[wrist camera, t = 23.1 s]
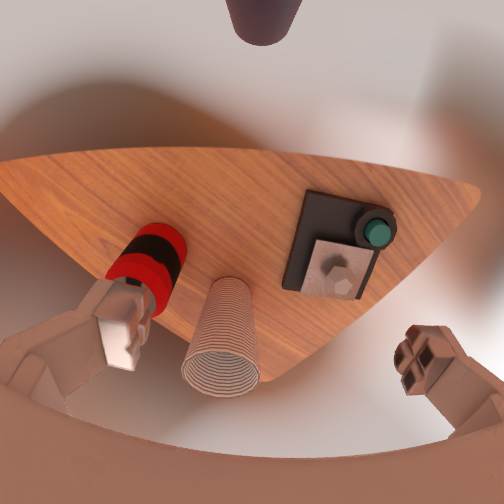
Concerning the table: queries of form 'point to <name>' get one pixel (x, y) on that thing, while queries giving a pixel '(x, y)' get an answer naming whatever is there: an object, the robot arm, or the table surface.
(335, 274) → the polyhedron
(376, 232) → the button
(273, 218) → the table surface
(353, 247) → the pan
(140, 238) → the soda can
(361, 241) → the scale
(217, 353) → the cup
